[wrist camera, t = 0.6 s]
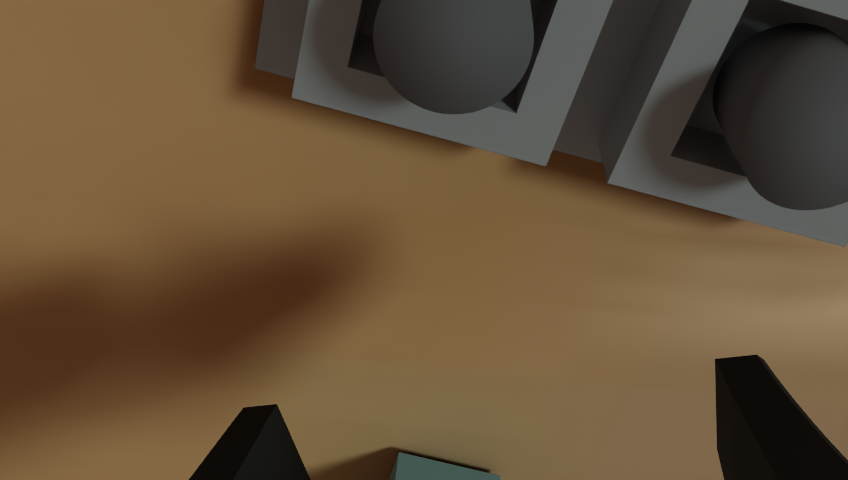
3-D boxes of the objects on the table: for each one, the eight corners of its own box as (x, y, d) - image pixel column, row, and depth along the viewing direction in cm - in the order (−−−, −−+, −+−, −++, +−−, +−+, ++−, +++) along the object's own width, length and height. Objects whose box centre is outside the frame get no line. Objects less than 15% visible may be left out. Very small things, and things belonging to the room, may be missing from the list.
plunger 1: (548, -55, 15) (557, -14, 13) (503, 77, 17) (504, 131, 15) (407, -96, 15) (393, -62, 13) (375, 41, 17) (357, 91, 15)
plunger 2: (883, 44, 16) (940, 97, 14) (809, 162, 17) (851, 226, 15) (752, 6, 16) (791, 53, 14) (689, 129, 17) (715, 189, 15)
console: (1025, -34, 16) (1091, 0, 14) (846, 224, 20) (880, 277, 18) (305, -257, 15) (279, -249, 13) (257, 63, 19) (232, 103, 17)
